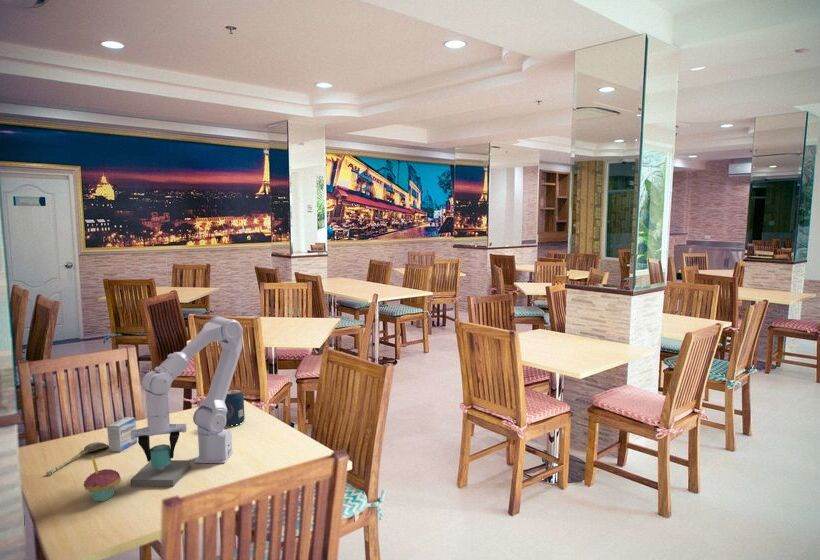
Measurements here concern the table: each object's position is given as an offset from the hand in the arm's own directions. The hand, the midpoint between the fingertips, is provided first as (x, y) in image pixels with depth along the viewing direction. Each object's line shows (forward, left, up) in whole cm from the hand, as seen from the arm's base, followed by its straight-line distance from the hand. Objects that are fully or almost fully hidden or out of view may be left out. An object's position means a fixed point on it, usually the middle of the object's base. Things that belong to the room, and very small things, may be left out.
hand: (160, 458), depth 157 cm
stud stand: (0, 0, -5) cm, 5 cm away
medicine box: (+22, -20, -6) cm, 30 cm away
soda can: (-8, -40, -6) cm, 41 cm away
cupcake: (+10, +11, -6) cm, 16 cm away
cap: (0, 0, -1) cm, 1 cm away
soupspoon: (+31, -11, -6) cm, 34 cm away
